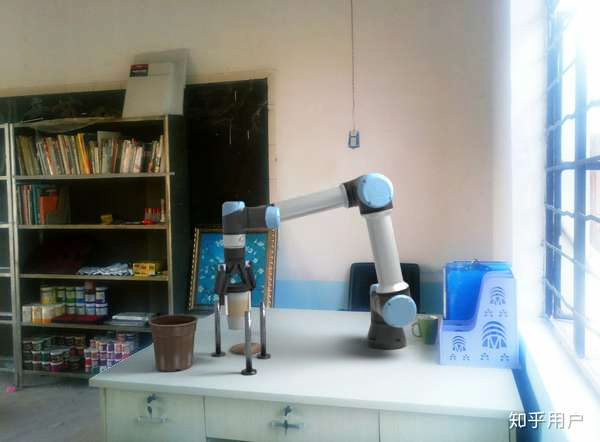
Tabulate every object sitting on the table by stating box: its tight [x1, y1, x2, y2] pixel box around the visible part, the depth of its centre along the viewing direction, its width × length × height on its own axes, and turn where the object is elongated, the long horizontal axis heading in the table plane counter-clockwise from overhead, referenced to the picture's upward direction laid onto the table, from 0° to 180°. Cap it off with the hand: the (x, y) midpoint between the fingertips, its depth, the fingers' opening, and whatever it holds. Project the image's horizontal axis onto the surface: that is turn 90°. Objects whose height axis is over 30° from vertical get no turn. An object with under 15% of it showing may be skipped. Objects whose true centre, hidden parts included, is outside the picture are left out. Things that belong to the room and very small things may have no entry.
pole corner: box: [256, 300, 272, 360], centre depth 188 cm, size 5×5×20 cm
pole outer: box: [240, 310, 258, 376], centre depth 171 cm, size 5×5×20 cm
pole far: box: [210, 299, 226, 358], centre depth 191 cm, size 5×5×20 cm
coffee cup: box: [225, 282, 249, 331], centre depth 182 cm, size 9×9×15 cm
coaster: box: [230, 342, 261, 356], centre depth 197 cm, size 12×12×1 cm
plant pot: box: [148, 314, 199, 373], centre depth 179 cm, size 16×16×16 cm
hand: (236, 311), depth 182 cm, fingers closed on coffee cup, 9 cm apart
